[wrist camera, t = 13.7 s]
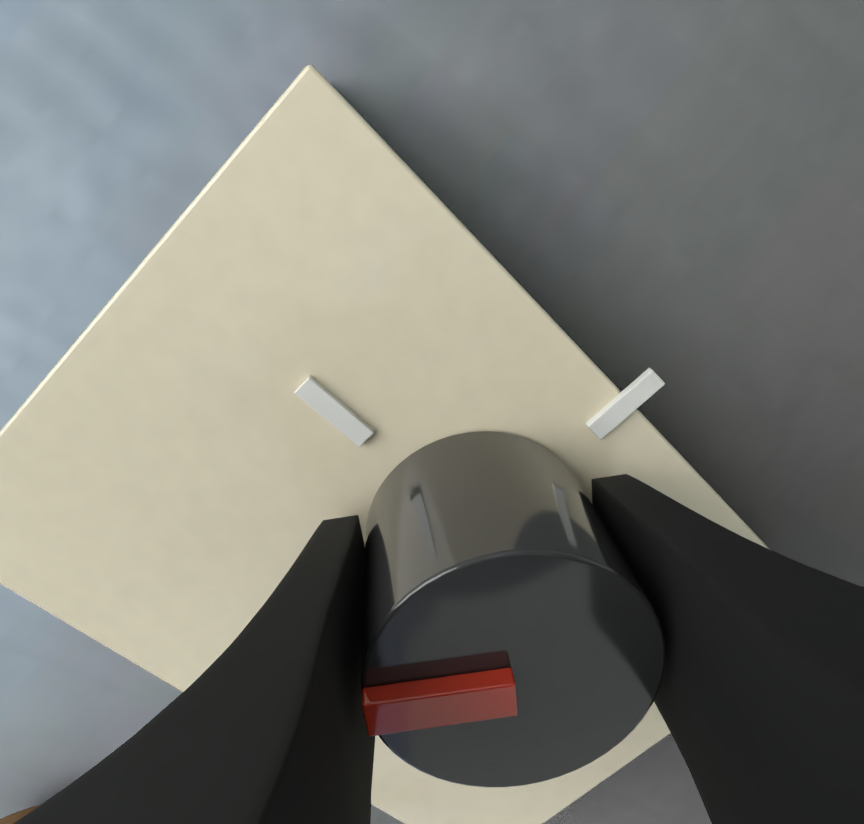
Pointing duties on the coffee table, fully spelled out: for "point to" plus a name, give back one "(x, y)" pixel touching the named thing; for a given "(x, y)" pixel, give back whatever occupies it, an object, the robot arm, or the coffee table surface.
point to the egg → (16, 816)
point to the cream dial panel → (298, 413)
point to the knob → (500, 617)
